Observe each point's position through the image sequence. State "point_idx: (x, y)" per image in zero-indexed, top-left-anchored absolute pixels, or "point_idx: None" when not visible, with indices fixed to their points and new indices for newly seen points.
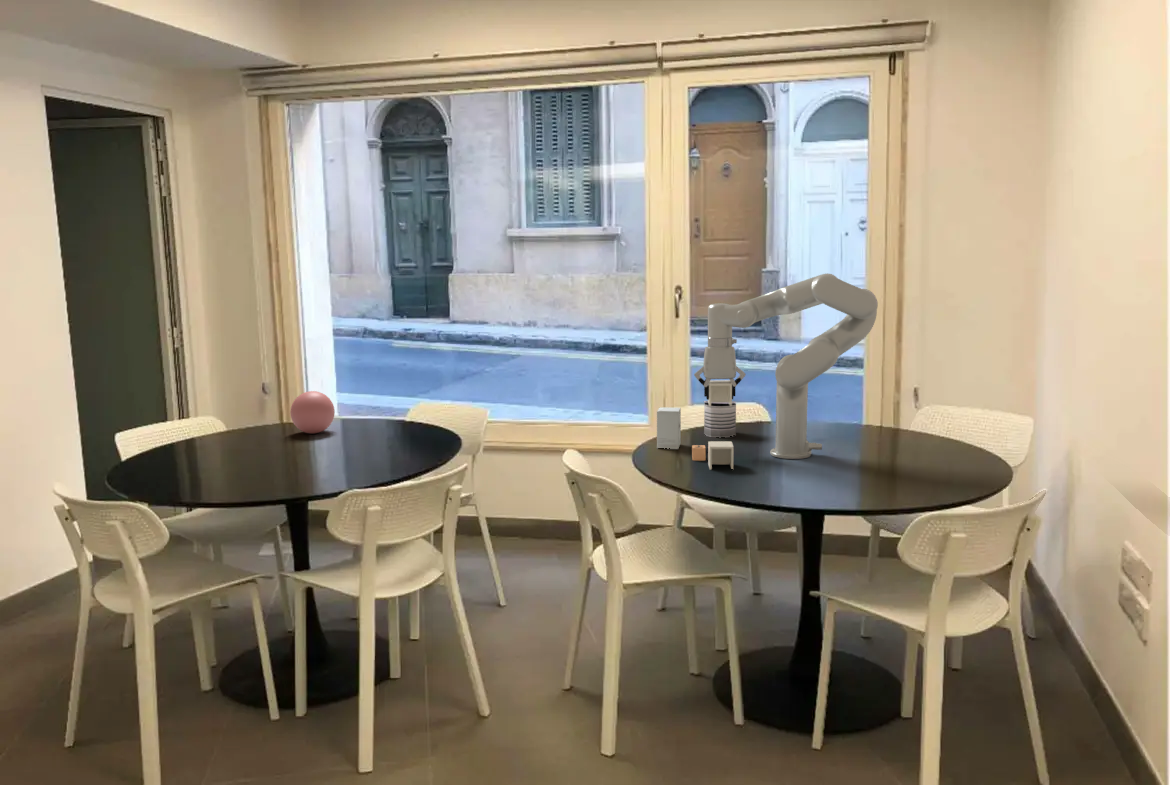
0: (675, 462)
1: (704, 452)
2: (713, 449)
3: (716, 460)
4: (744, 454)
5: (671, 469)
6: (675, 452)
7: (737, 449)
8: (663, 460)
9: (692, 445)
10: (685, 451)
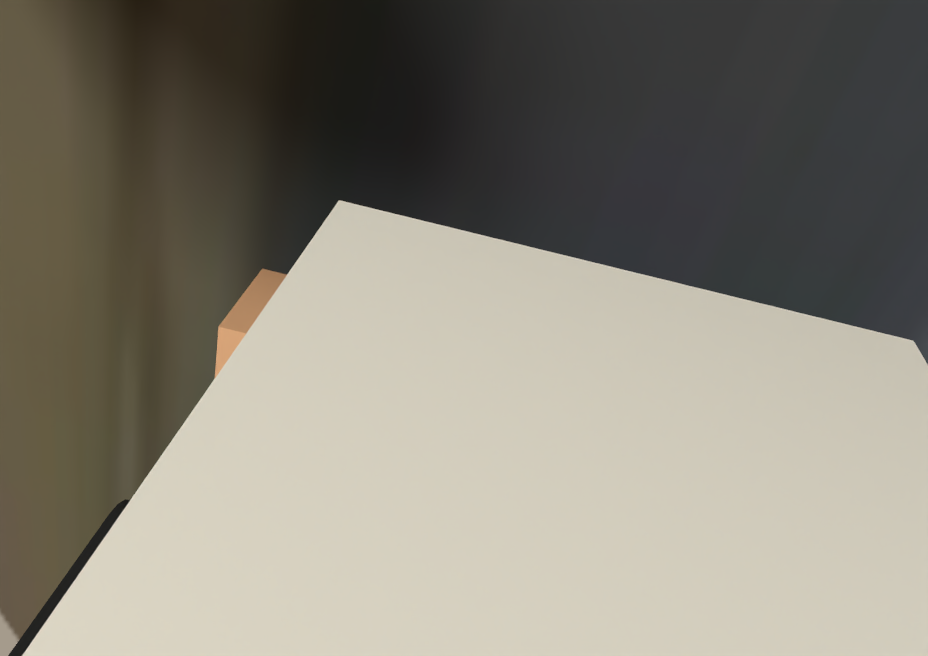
0: (110, 386)
1: None
2: None
3: None
4: (790, 289)
5: (81, 540)
6: (115, 31)
7: (833, 54)
8: (12, 305)
9: (221, 336)
10: (224, 10)
